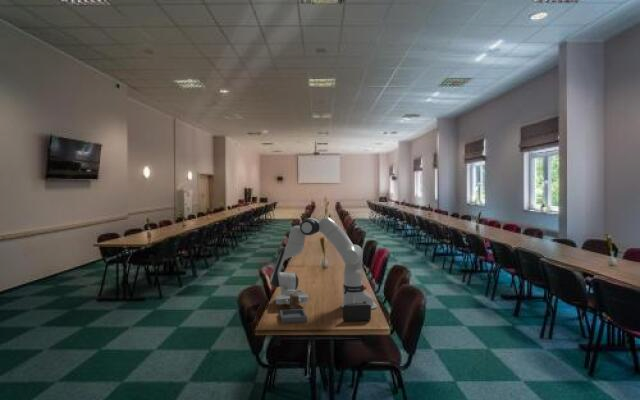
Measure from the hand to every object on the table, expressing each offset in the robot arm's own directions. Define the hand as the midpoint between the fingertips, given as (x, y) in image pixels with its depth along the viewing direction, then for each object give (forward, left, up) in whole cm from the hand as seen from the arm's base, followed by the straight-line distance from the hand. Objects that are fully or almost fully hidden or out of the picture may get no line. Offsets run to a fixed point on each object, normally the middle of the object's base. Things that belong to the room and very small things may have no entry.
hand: (294, 302), depth 221 cm
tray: (+2, +11, -6) cm, 13 cm away
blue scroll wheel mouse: (-33, +21, -6) cm, 40 cm away
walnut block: (0, -1, -6) cm, 6 cm away
